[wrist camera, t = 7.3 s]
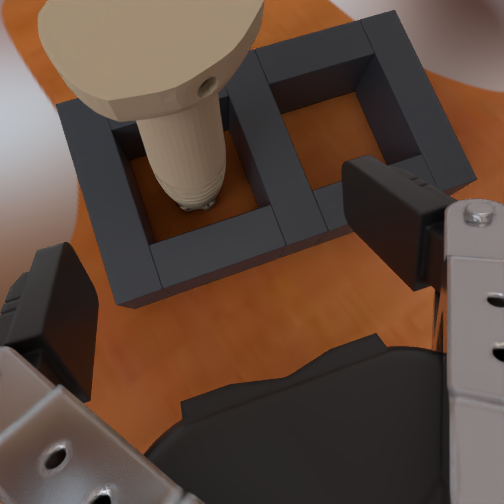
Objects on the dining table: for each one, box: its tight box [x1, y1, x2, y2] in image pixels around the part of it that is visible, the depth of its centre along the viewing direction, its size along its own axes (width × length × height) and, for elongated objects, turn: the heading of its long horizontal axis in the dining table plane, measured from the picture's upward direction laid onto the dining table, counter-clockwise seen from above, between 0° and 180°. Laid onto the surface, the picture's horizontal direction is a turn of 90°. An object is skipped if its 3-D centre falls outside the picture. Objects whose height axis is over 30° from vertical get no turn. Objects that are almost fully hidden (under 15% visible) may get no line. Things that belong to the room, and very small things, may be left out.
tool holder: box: [56, 10, 477, 309], centre depth 24 cm, size 22×12×4 cm, turn 110°
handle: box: [38, 0, 264, 212], centre depth 18 cm, size 5×6×15 cm
